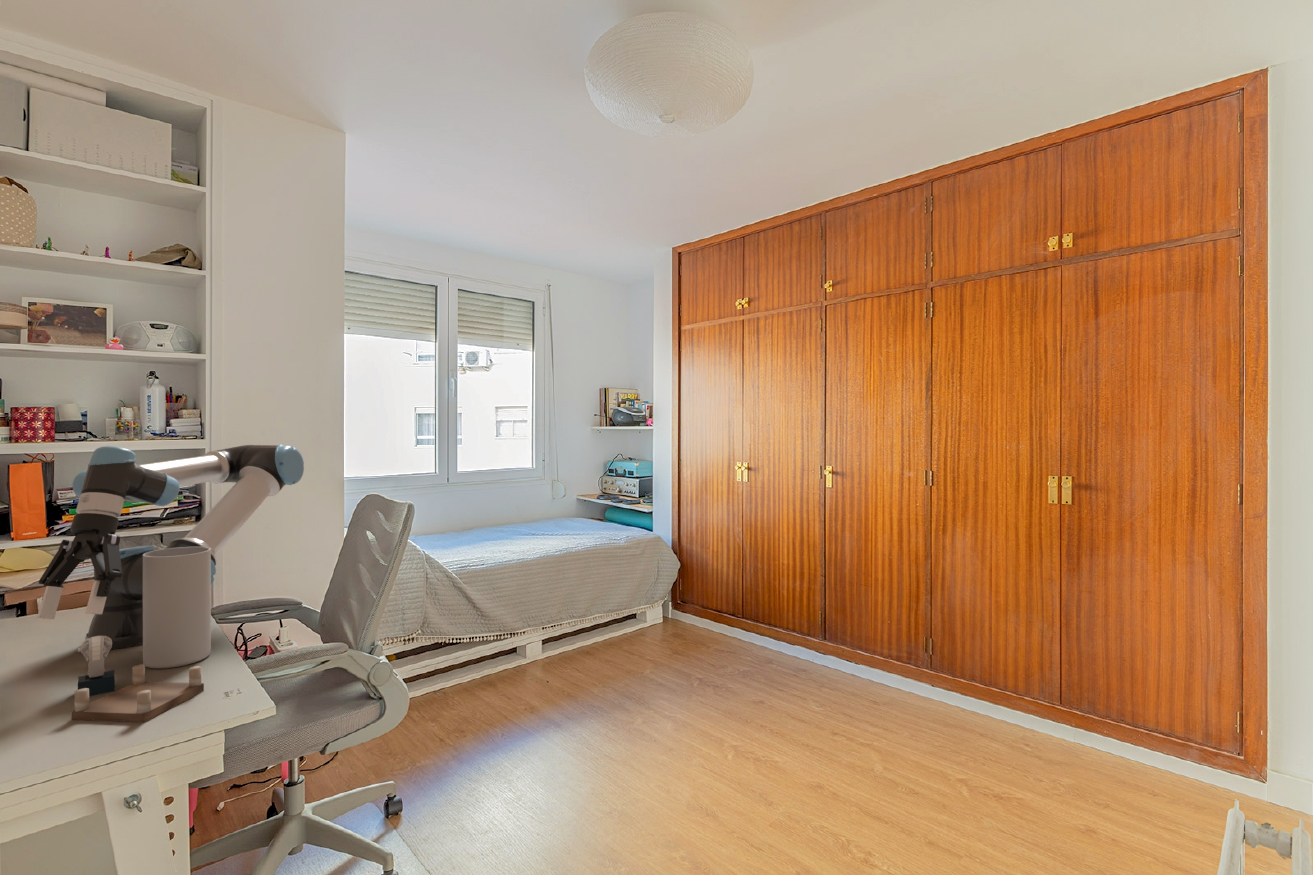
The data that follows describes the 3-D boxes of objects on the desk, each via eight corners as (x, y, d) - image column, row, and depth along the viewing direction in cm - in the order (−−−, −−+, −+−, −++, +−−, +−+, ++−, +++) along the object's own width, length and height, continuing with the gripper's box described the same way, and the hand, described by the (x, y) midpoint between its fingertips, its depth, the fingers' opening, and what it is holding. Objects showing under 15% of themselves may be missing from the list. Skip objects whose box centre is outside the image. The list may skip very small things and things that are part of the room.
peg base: (138, 688, 130) (138, 664, 130) (203, 690, 129) (203, 666, 129) (71, 719, 116) (71, 692, 116) (144, 722, 115) (144, 694, 115)
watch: (114, 681, 133) (114, 629, 133) (114, 693, 127) (114, 639, 127) (78, 688, 130) (78, 635, 129) (76, 701, 123) (76, 645, 123)
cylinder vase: (139, 659, 146) (139, 551, 146) (204, 646, 155) (204, 544, 155) (147, 674, 137) (146, 559, 137) (216, 659, 146) (216, 551, 146)
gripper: (36, 518, 138) (4, 619, 130) (122, 505, 132) (94, 610, 124) (74, 525, 145) (46, 621, 137) (158, 513, 139) (133, 613, 131)
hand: (69, 616), depth 131 cm, fingers open, 13 cm apart
